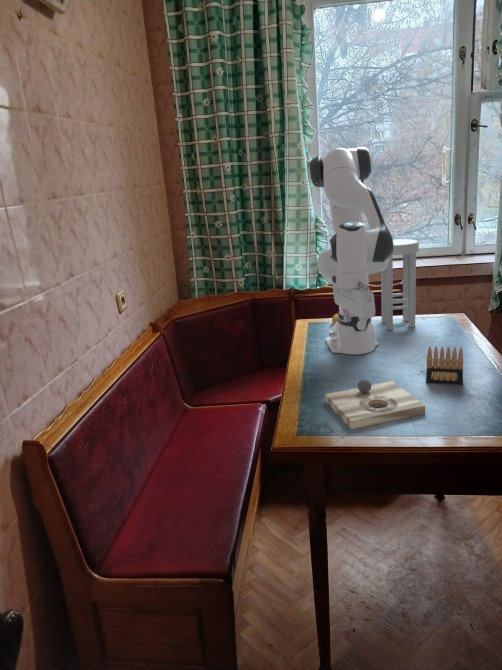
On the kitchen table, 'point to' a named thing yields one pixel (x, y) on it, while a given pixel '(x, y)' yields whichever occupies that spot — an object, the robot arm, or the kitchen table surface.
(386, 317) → the stool
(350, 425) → the board
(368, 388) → the ball
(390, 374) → the kitchen table surface
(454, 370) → the ammunition clip
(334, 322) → the bagel
